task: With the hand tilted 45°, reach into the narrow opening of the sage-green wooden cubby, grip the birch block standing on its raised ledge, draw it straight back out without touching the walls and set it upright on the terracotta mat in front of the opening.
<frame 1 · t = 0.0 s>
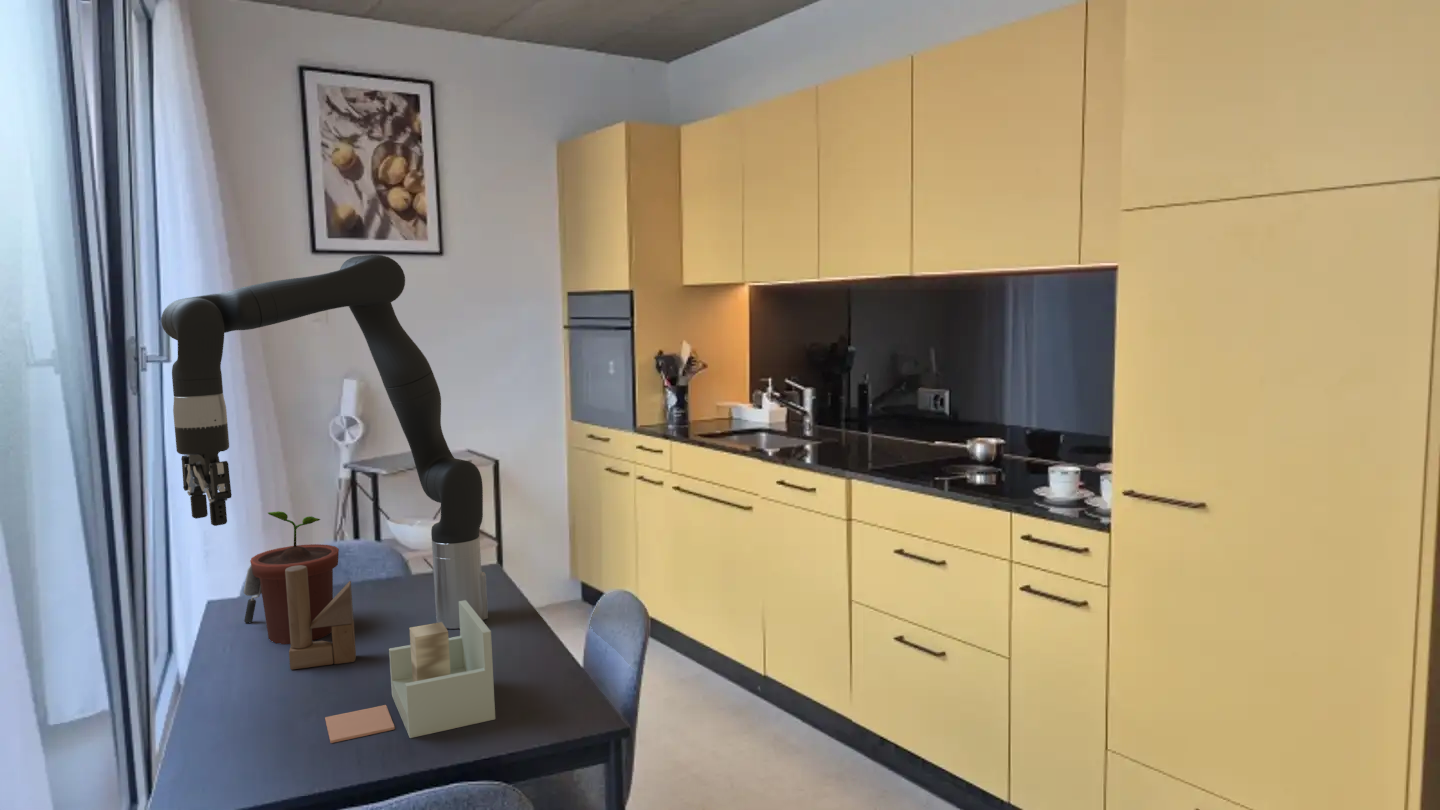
hand: (209, 521, 154), 29 cm above the table, tool pointing down, fingers open, 8 cm apart
mat: (359, 724, 144), on the table
birch block: (432, 690, 149), point 3 cm above the table, touching cubby
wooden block: (323, 664, 170), on the table
cubby: (433, 708, 149), on the table
potted plant: (296, 630, 188), on the table
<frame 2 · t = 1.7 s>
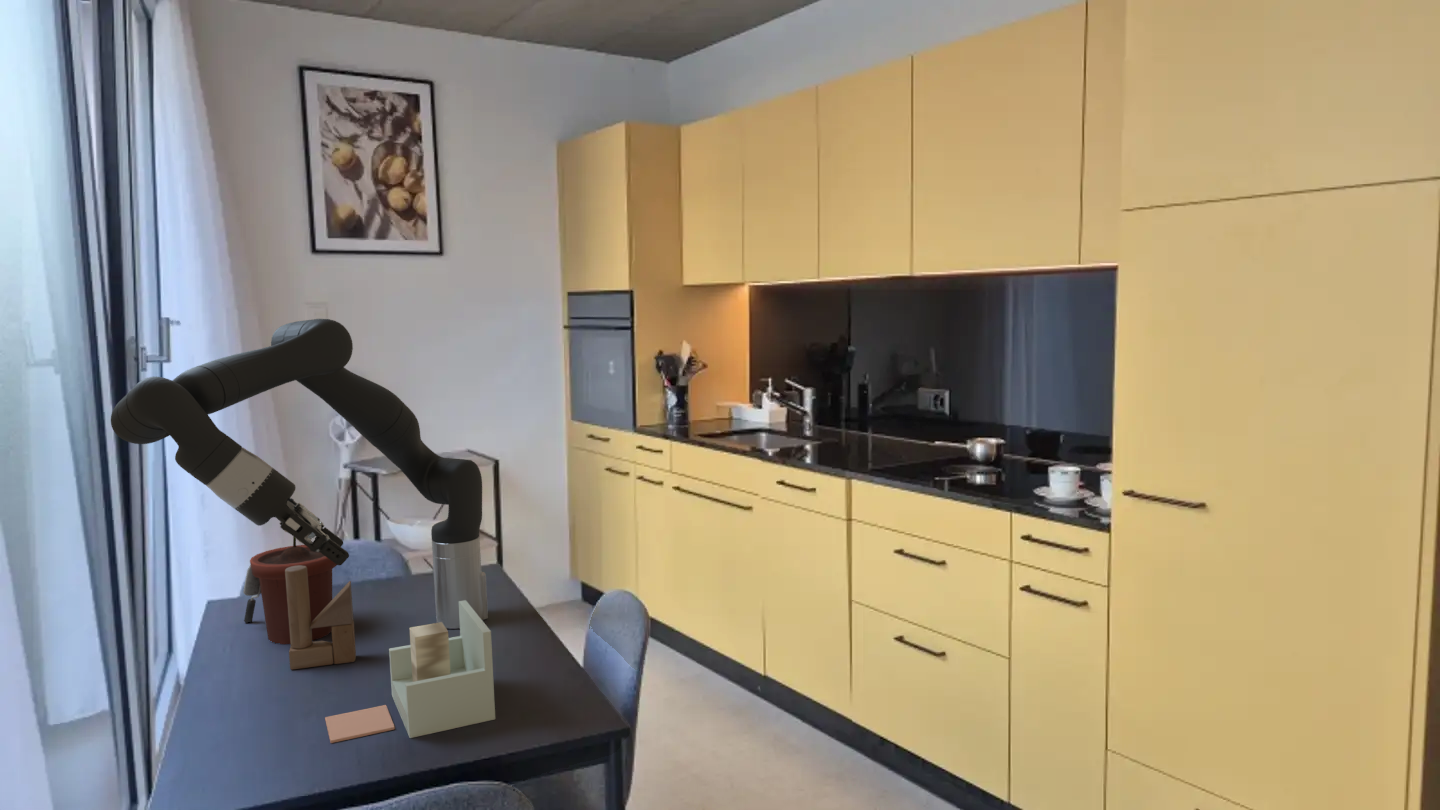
hand: (342, 553, 141), 27 cm above the table, tool tilted 45°, fingers open, 8 cm apart
nothing on the table moved.
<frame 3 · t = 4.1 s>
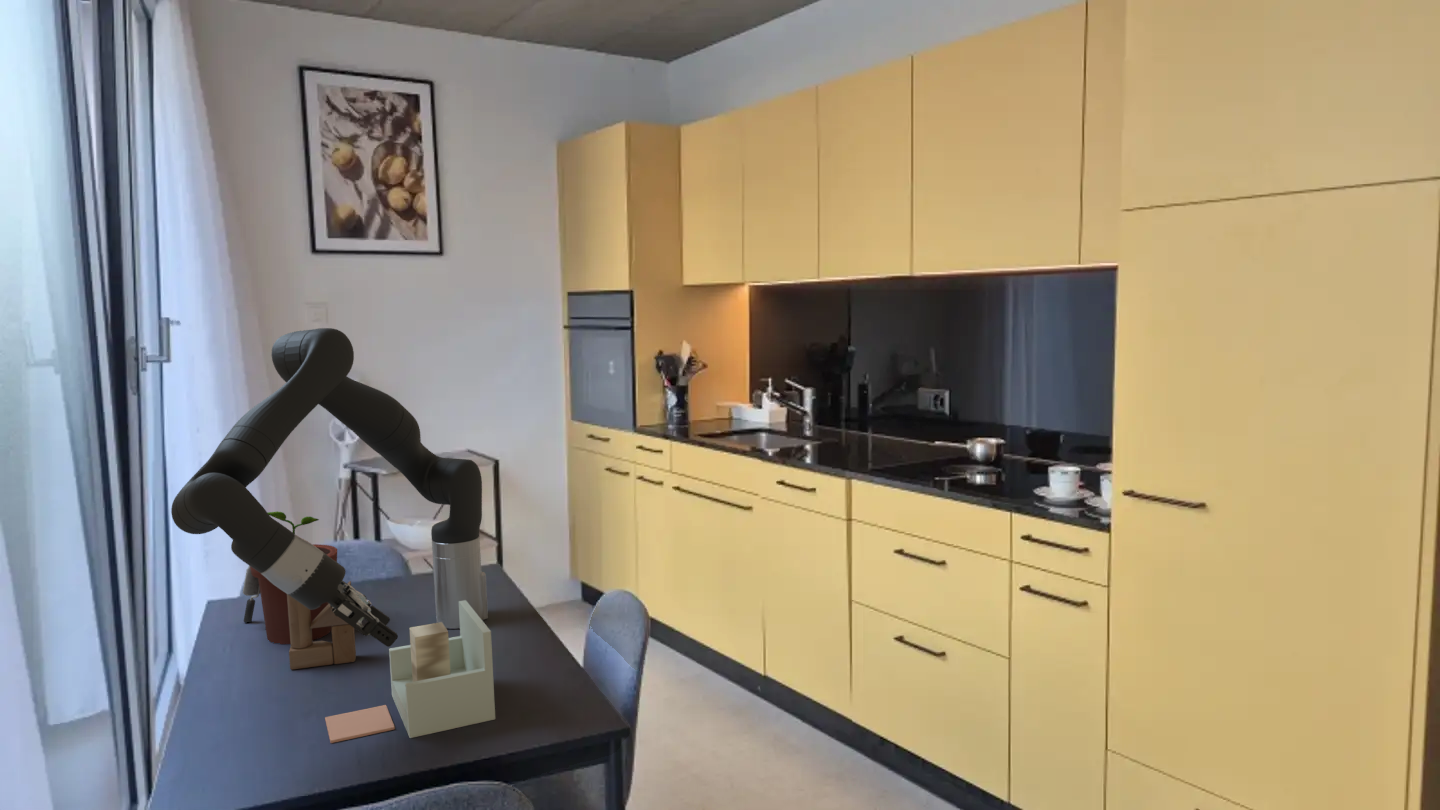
hand: (389, 632, 145), 14 cm above the table, tool tilted 45°, fingers open, 8 cm apart
nothing on the table moved.
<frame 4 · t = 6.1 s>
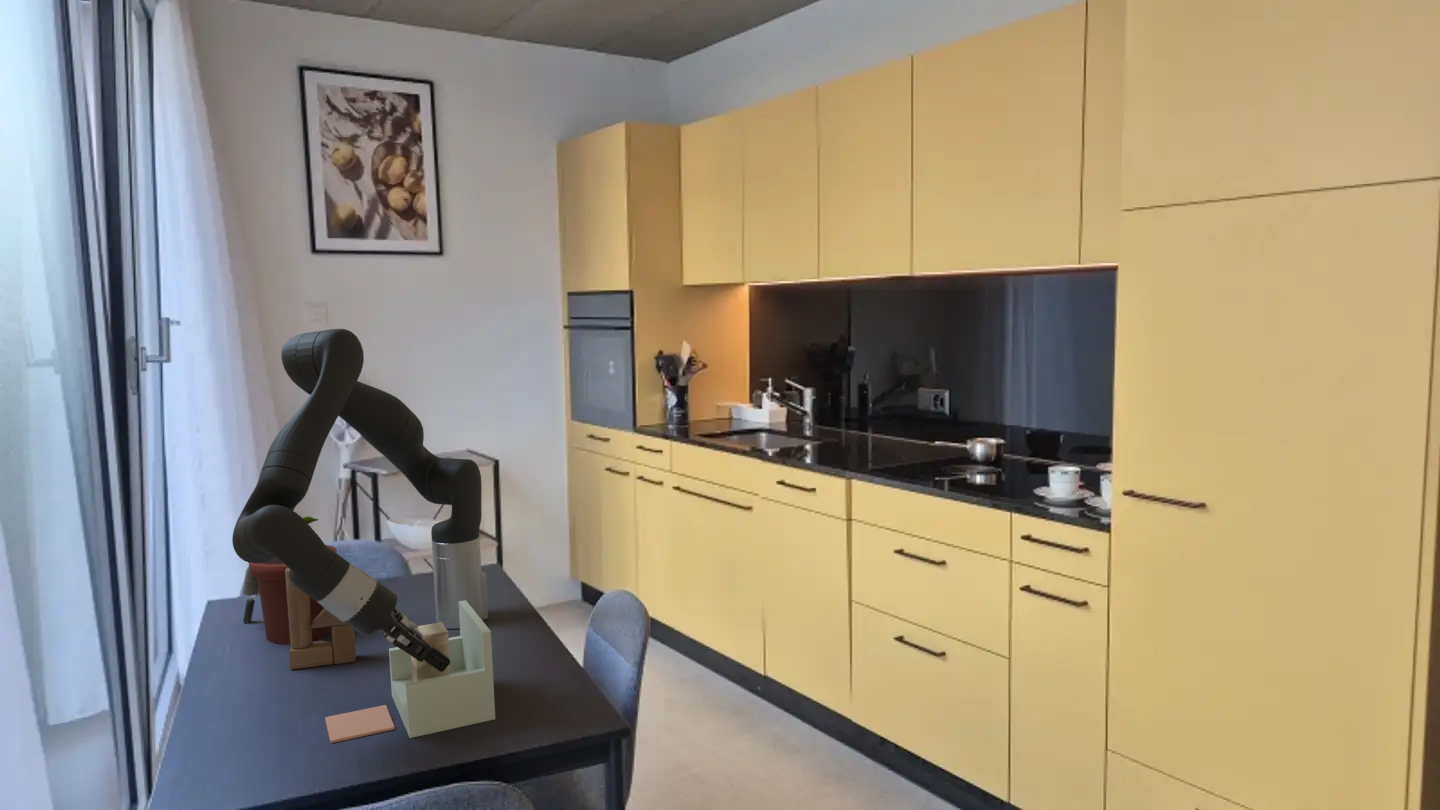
hand: (442, 660, 149), 8 cm above the table, tool tilted 45°, fingers closed on birch block, 5 cm apart
birch block: (432, 690, 149), point 3 cm above the table, touching cubby, gripper
everything else where it was.
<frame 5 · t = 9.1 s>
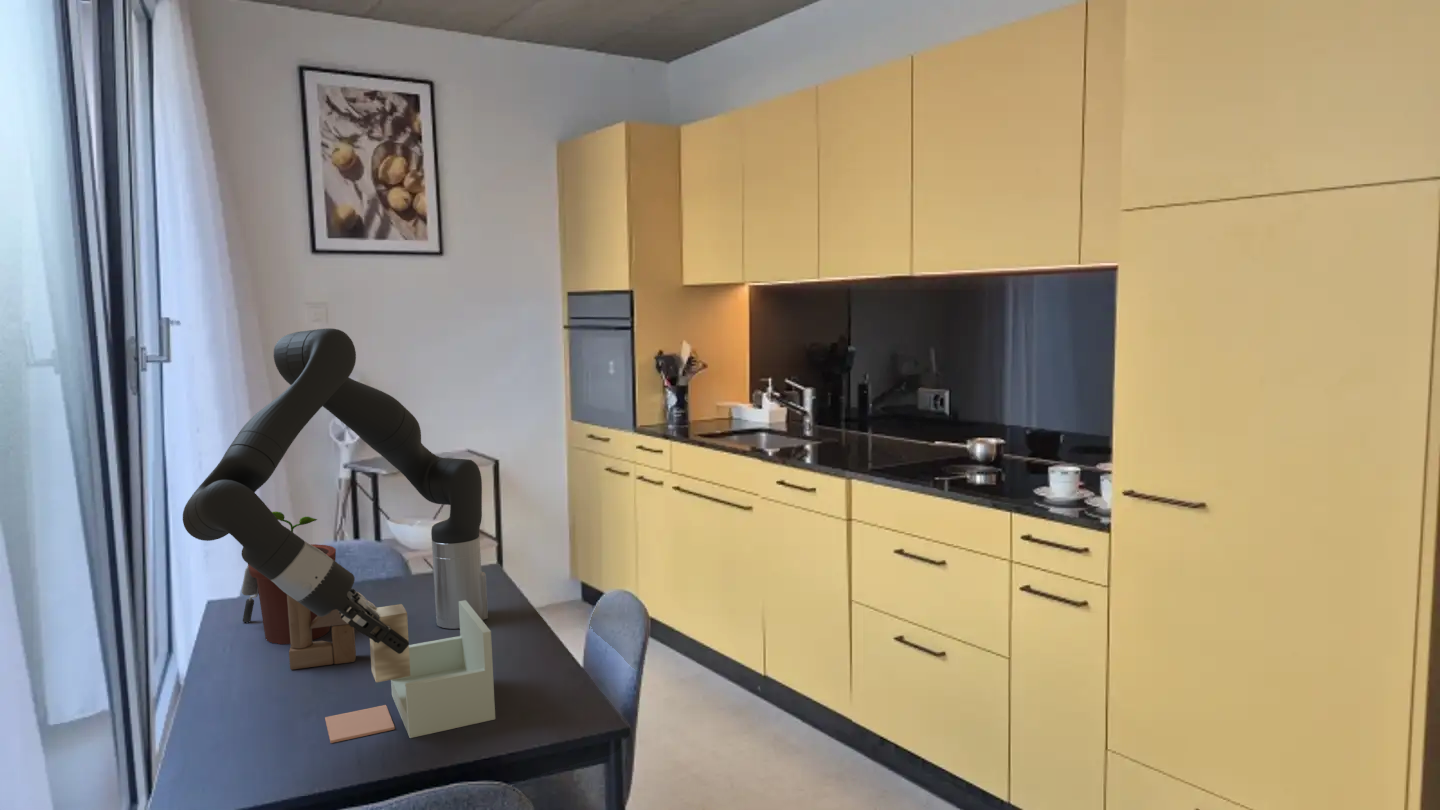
hand: (401, 642, 146), 12 cm above the table, tool tilted 45°, fingers closed on birch block, 5 cm apart
birch block: (390, 673, 146), point 7 cm above the table, touching gripper
everything else where it was.
when the fingers open (6 cm above the table, at t = 11.8 s): birch block drops 1 cm, resting on mat.
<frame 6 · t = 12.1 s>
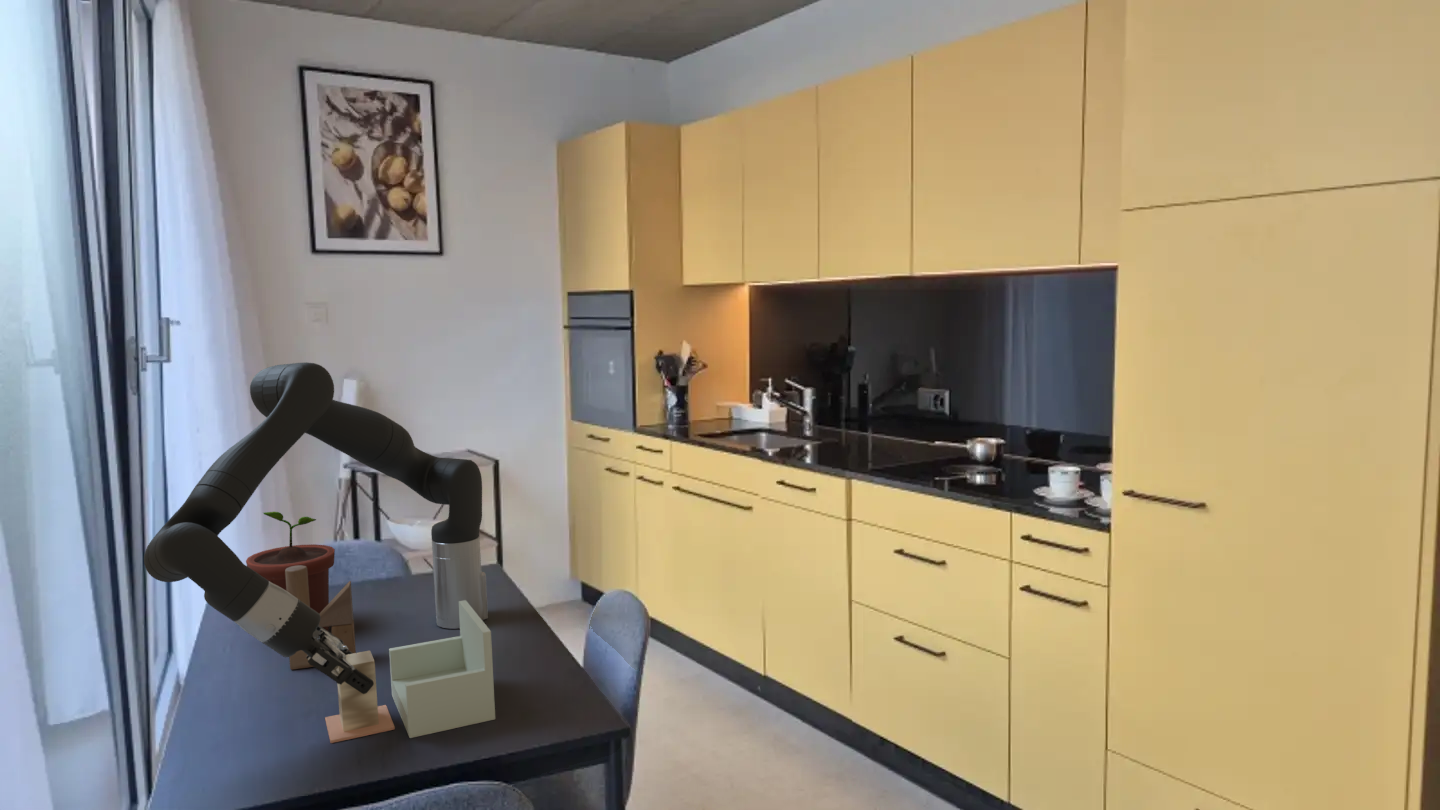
hand: (366, 678, 144), 7 cm above the table, tool tilted 45°, fingers open, 8 cm apart
birch block: (359, 721, 144), resting on mat
everything else where it was.
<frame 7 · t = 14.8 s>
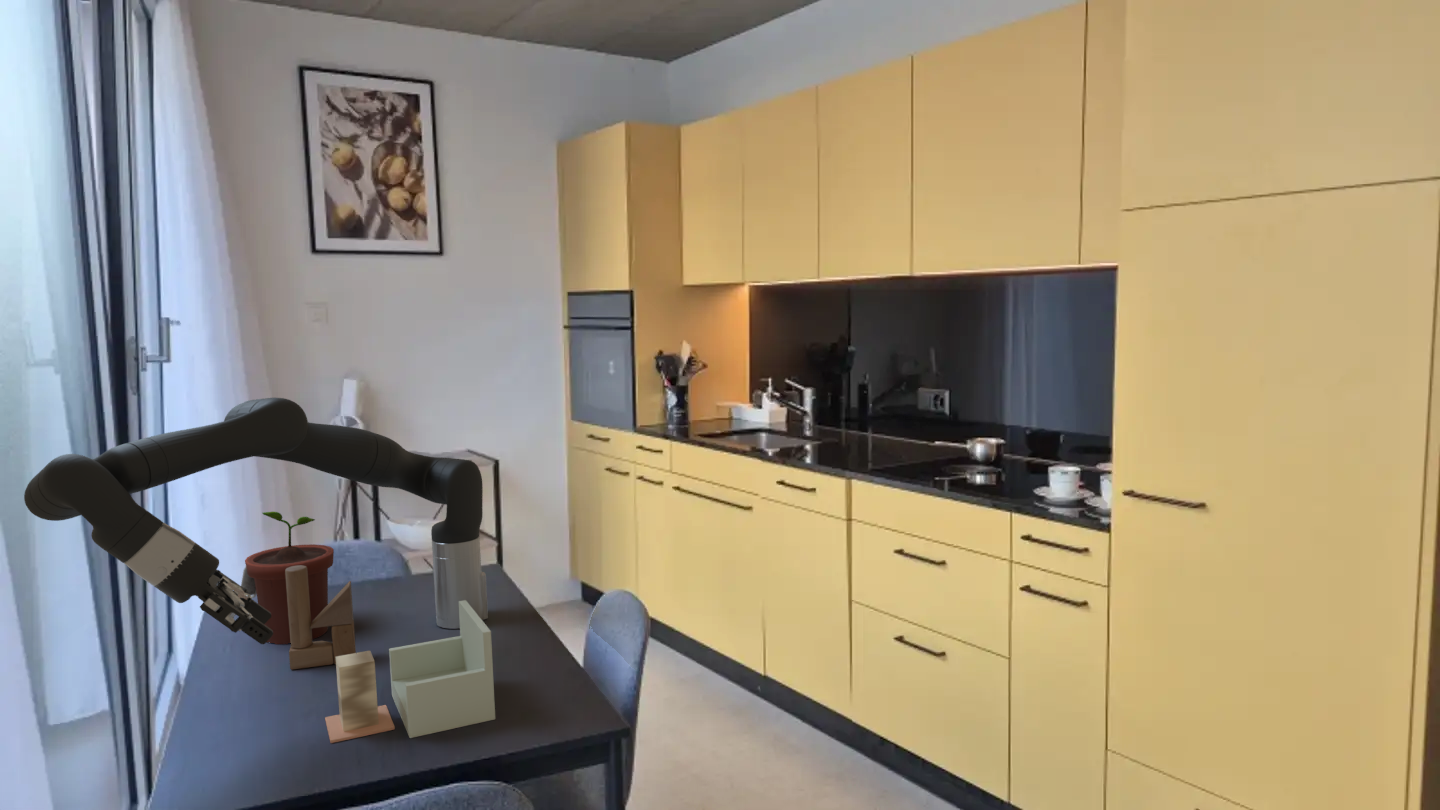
hand: (268, 629, 137), 17 cm above the table, tool tilted 45°, fingers open, 8 cm apart
nothing on the table moved.
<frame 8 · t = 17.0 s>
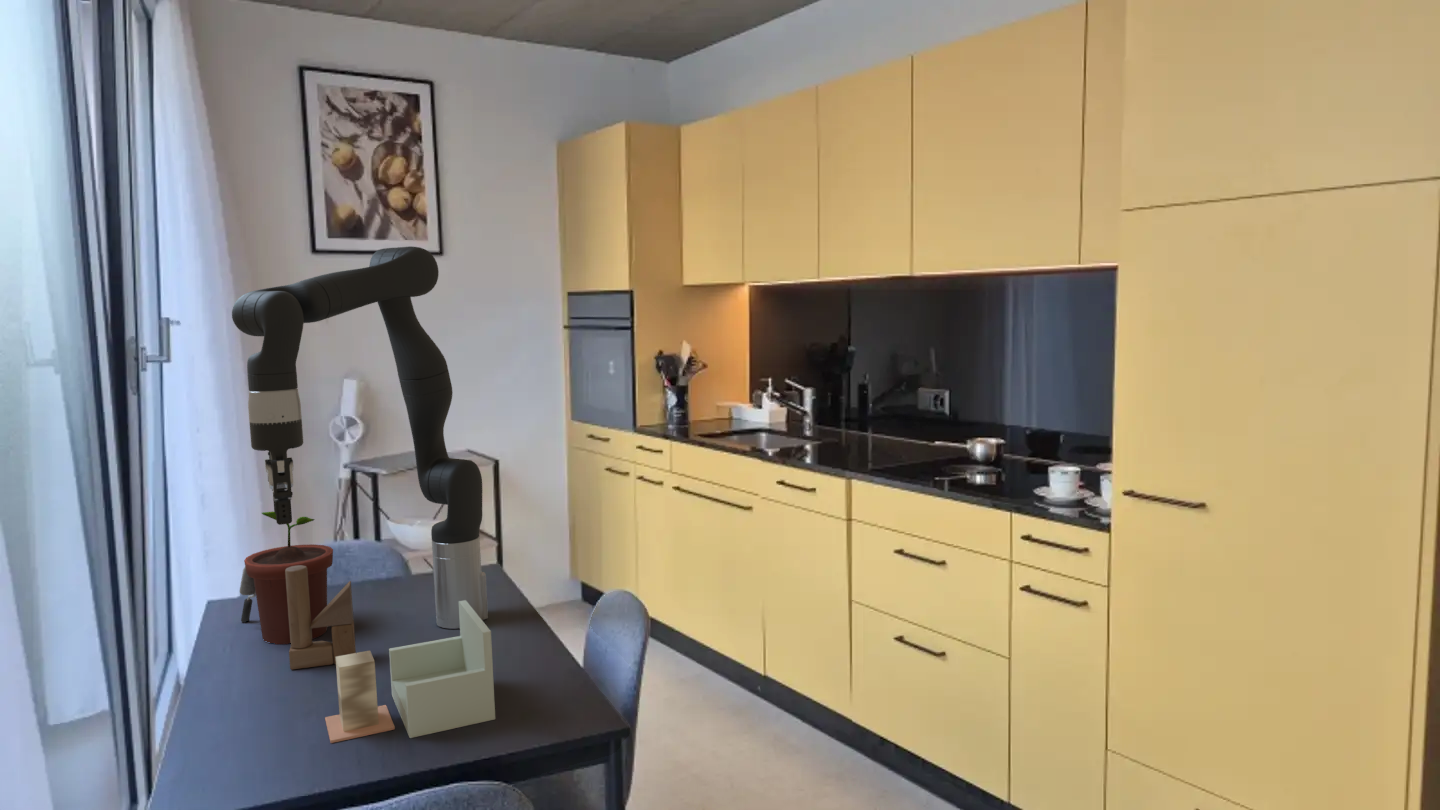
hand: (283, 518, 151), 30 cm above the table, tool pointing down, fingers open, 8 cm apart
at the end: birch block inside the target area on the mat (0.1 cm from its centre), point 0.4 cm above the mat's base; birch block tilted 0°; the gripper is holding nothing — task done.
